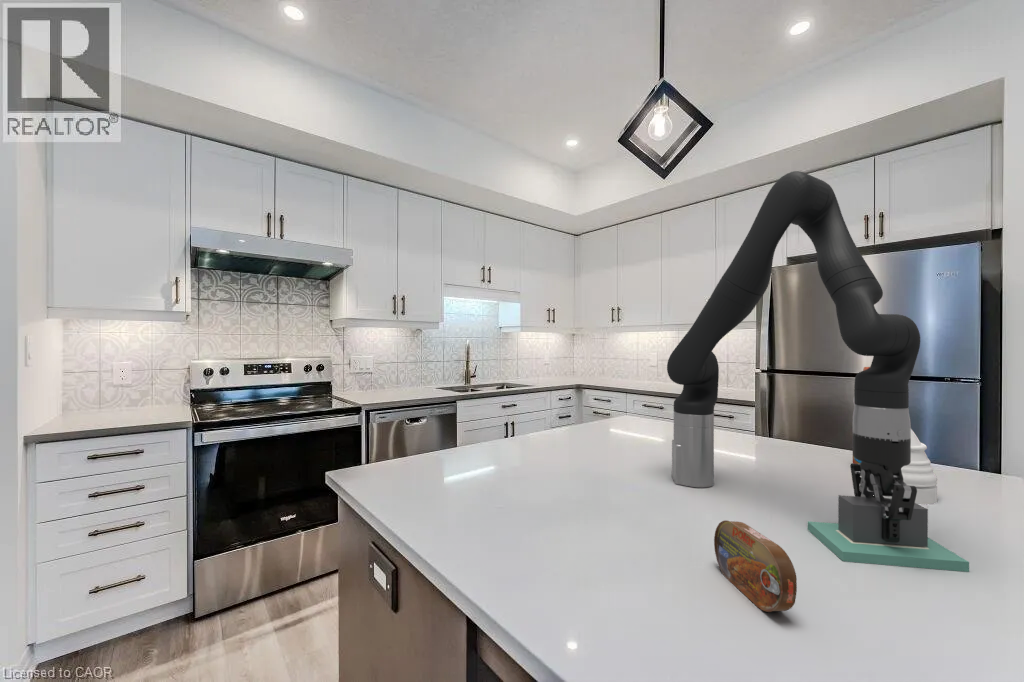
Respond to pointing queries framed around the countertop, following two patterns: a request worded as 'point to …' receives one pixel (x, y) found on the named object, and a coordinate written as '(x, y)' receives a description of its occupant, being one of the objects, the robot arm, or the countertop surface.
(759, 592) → the tin
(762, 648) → the countertop surface
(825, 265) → the robot arm
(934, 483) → the honey pot
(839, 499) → the block
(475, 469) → the countertop surface
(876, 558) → the header board
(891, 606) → the countertop surface
